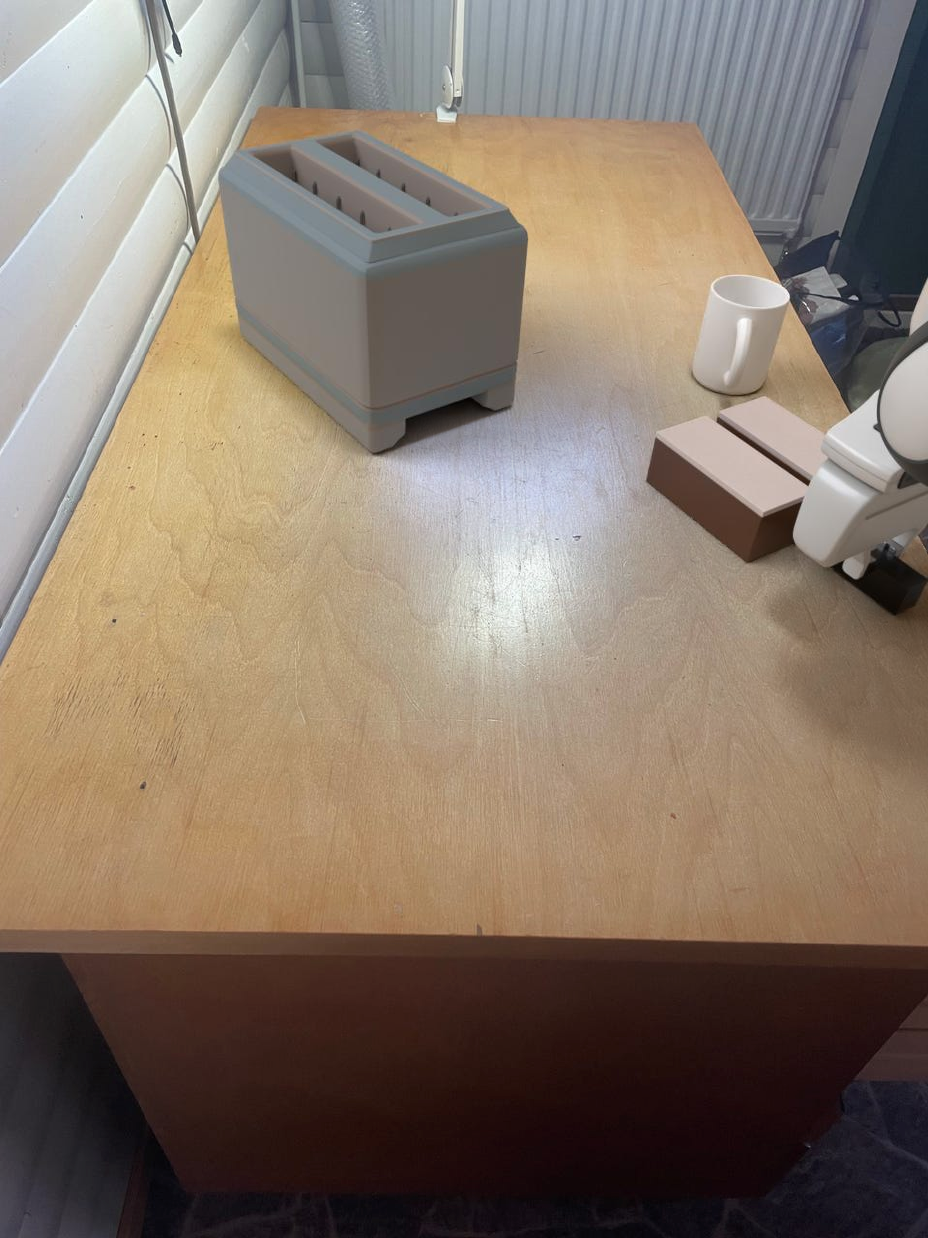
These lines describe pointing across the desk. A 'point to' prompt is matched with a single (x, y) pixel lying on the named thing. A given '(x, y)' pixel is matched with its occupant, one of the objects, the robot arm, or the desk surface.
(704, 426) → the cake
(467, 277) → the toaster
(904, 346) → the robot arm
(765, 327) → the mug
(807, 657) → the desk surface
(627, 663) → the desk surface
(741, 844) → the desk surface
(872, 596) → the knife
